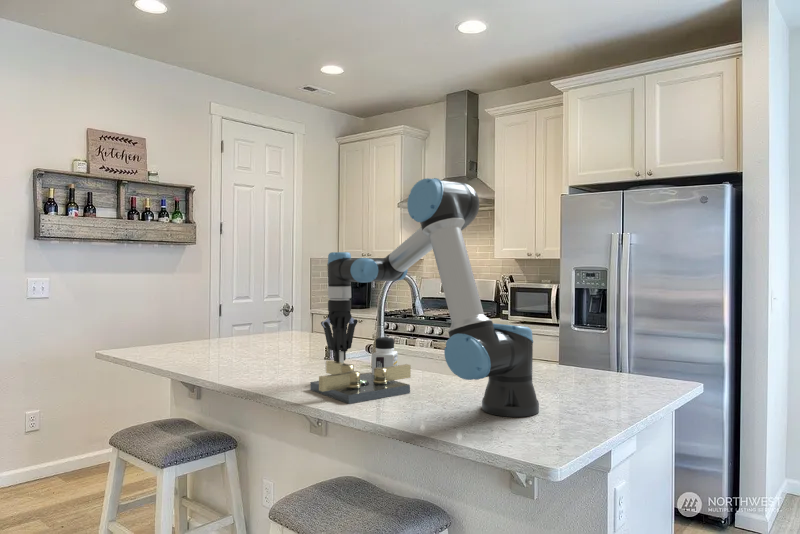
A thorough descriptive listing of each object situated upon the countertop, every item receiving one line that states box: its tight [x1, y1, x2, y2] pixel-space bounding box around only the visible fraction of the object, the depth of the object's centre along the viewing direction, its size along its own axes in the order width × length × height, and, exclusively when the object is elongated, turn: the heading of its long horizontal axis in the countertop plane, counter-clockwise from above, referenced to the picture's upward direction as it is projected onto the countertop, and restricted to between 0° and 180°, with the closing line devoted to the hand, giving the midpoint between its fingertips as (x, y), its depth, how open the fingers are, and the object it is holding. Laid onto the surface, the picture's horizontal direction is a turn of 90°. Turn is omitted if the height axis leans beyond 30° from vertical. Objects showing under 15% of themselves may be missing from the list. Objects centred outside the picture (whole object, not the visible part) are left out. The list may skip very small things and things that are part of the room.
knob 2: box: [373, 363, 412, 384], centre depth 182 cm, size 13×4×4 cm, turn 128°
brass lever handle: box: [325, 359, 355, 375], centre depth 188 cm, size 13×4×4 cm, turn 39°
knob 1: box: [318, 370, 361, 392], centre depth 170 cm, size 13×4×4 cm, turn 128°
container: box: [371, 336, 399, 375], centre depth 206 cm, size 8×8×13 cm
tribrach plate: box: [309, 373, 411, 405], centre depth 179 cm, size 22×22×3 cm
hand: (339, 371), depth 191 cm, fingers closed
